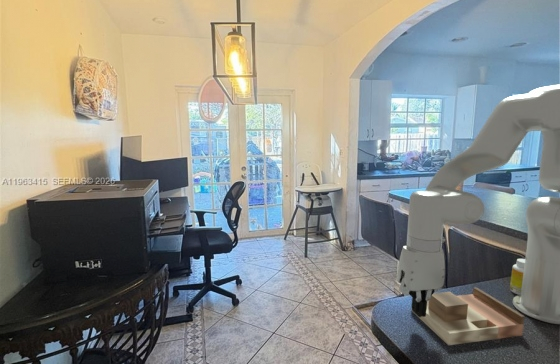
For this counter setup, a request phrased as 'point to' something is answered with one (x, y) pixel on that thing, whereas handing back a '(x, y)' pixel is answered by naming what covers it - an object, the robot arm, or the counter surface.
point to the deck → (477, 321)
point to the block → (448, 306)
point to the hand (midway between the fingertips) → (418, 313)
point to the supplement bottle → (517, 276)
